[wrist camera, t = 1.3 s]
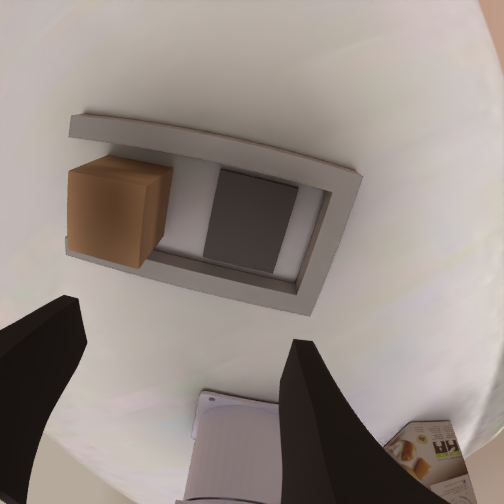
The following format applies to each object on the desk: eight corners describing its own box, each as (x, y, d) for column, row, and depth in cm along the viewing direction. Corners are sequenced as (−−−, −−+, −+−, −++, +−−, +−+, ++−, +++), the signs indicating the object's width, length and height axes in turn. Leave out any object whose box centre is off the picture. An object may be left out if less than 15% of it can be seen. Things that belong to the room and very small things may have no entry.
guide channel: (356, 171, 15) (362, 176, 14) (308, 304, 19) (310, 316, 18) (82, 113, 15) (71, 115, 13) (75, 246, 18) (65, 254, 17)
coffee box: (407, 420, 25) (441, 563, 10) (451, 419, 25) (490, 542, 11) (363, 463, 29) (378, 582, 14) (406, 461, 29) (427, 568, 14)
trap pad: (297, 187, 16) (298, 189, 16) (272, 271, 18) (272, 273, 18) (221, 168, 16) (220, 169, 15) (203, 254, 18) (202, 256, 18)
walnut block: (173, 167, 16) (146, 186, 12) (163, 235, 18) (138, 269, 14) (107, 155, 16) (68, 170, 12) (102, 220, 17) (68, 249, 14)
